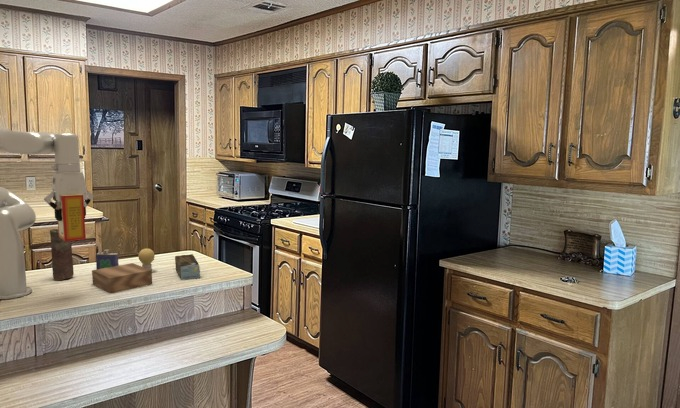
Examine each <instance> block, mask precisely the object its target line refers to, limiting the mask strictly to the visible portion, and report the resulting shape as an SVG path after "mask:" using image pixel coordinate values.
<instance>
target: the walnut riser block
mask: <svg viewBox="0 0 680 408" xmlns="http://www.w3.org/2000/svg"><path fill="white" fill-rule="evenodd" d="M152 270H153V269H152ZM152 270H150V269H147V268H145V267H142V265H139V264H136V263H133V262H132V263H126V264H121V265H120V264H119V266H114V267H108V268H102V269H97V270H96V269H93V270H91V275H92V276H91V277H92V285H93V286H95V287H96V288H99V289H101V290H104V291H105V292H107V293H109V294H113V293H119V292H123V291H127V290H128V291H129V290H133V289H137V287H138V288H143V287H146V285H147V286H151V285H153V271H152Z"/></svg>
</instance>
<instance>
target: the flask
mask: <svg viewBox="0 0 680 408" xmlns="http://www.w3.org/2000/svg"><path fill="white" fill-rule="evenodd" d="M109 250H110V249H108V248H107V249H104V251H100V252H97V253H95V263H96V264H95V265H96V269H95V270H97V269H102V268H108V267H114V266H119V265H120V264H119V254H118V253H116V252H115V253H111V252H110V253H109Z"/></svg>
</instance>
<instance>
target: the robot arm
mask: <svg viewBox="0 0 680 408" xmlns="http://www.w3.org/2000/svg"><path fill="white" fill-rule="evenodd" d="M79 144H80V142H79V136H78V134H76V133H68V132H61V133H60V132H59V133H54V132H47V131H18V130H11V129H10V130H9V129H8V128H6V127H0V153H4V154H5V153H6V154H7V153H9V154H18V155H19V154H20V155H33V156H34V155H54V165H51V167H50V170H51V171H54V172H55V173H53V177H52V183H51V186H52V188H51V189H52V190H51V192H50V193H48V195H46V196H45V197H44V198H43V200H44V201H45V203H47V204H48V205H49V206H50V207H51V208H52V209H53V210H54V218H55V220H56V221H57V222H58V221H62V213H61V209H60V207H61V202H62V200H61V196H64V195H76V194H82V195H83V200H84V218H85V219H86V215H87V209H86V208H87V207H88V205H89V203H91V201H92V200H93V198H94V196H95V195H94V194H93V193H91V192H90V191H88V190H87V185H86V179H85V175H84V172H81V164H80V163H81V161H80V145H79ZM52 200H53V201H52ZM36 220H37V216H36V212H35V210H34V209H33V208H32V207H31V206H30V205H29V204H28V203H26V201H23V200H22V199H21V198H20V197H19V196H18V195H16V194H15V193H13V192H12V191H10V190H9V189H8V188H5V187H3V186H0V300H8V299H9V300H10V299H16V298H21V297H25V296H27V295H30V294H31V293H32V292H33V288H32V287H31V286H28V285H27V275H26V263H25V249H24V242H23V239H22V236H21V234H20V232H21V231H24V230H26V229H29V228H31V227H32V226H33V225H34V224H35V223H36Z"/></svg>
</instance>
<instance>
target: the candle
mask: <svg viewBox="0 0 680 408" xmlns="http://www.w3.org/2000/svg"><path fill="white" fill-rule="evenodd" d="M49 235H50V249H51V250H50V251H51V264H52V265H51V268H52V279H53V281H63V280H67V279H70V278H72V277H73V276H74V274H75V273H74V259H73V248H72V241H64V240H62V239H61V238H59V232H58V228H51V229H50V230H49Z"/></svg>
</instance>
